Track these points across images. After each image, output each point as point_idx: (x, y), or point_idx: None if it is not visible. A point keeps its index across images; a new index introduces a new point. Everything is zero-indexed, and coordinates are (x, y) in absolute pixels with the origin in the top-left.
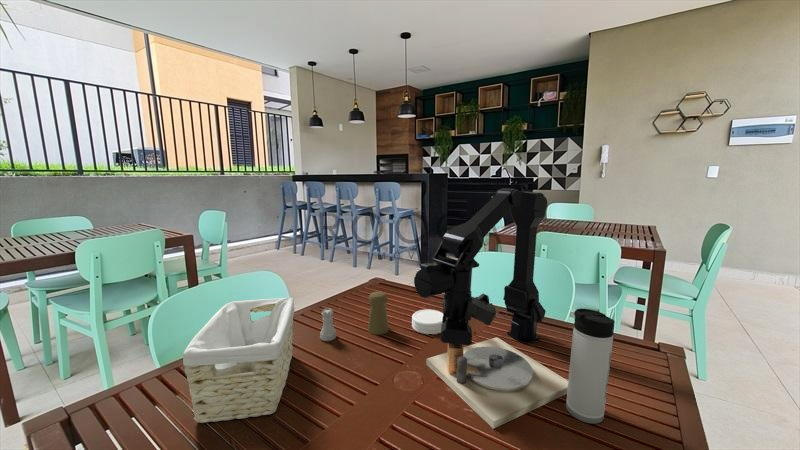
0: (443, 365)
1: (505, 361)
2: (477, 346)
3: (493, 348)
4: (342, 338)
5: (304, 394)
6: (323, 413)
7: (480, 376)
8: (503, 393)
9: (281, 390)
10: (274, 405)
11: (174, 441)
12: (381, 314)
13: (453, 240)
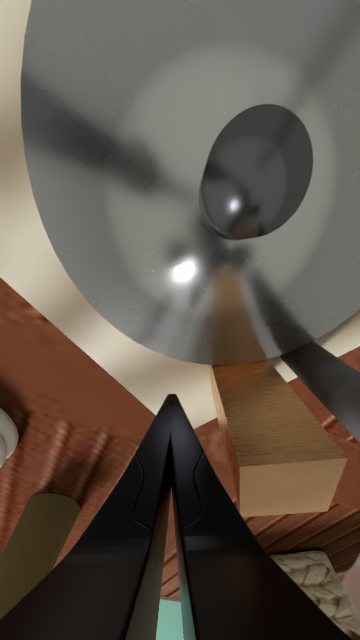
0: (209, 397)
1: (201, 107)
2: (32, 278)
3: (51, 185)
4: None
5: (282, 537)
6: (327, 517)
7: (340, 295)
8: None
9: (293, 567)
10: (334, 571)
11: (343, 577)
12: (28, 587)
13: None
